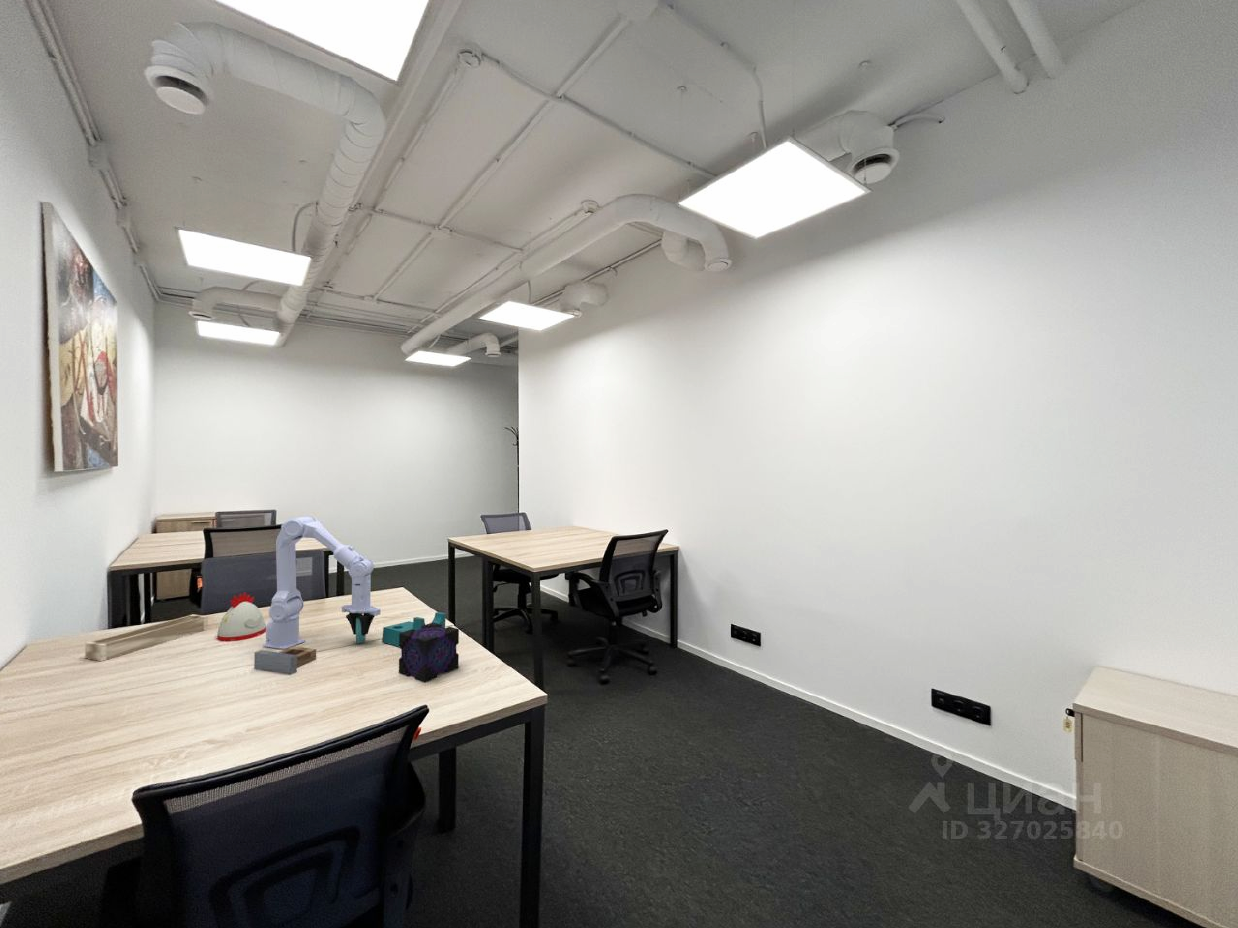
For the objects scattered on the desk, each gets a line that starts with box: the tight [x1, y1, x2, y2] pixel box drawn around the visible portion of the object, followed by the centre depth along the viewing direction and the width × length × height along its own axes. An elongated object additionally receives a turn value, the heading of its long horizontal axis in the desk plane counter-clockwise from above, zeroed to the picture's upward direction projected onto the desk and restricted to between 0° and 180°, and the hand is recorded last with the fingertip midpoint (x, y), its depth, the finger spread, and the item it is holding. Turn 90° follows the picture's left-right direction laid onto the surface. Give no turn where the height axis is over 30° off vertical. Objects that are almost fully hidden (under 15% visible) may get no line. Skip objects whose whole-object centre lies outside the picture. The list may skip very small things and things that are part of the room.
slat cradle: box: [84, 614, 209, 662], centre depth 166 cm, size 7×30×5 cm, turn 165°
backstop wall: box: [253, 649, 298, 675], centre depth 145 cm, size 14×2×5 cm, turn 75°
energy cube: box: [398, 621, 460, 684], centre depth 146 cm, size 12×12×12 cm
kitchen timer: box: [216, 592, 267, 643], centre depth 174 cm, size 14×14×15 cm
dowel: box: [355, 617, 366, 644], centre depth 167 cm, size 3×3×8 cm
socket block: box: [278, 645, 317, 668], centre depth 150 cm, size 9×9×3 cm
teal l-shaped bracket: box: [381, 611, 447, 647], centre depth 169 cm, size 18×11×10 cm, turn 63°
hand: (360, 634), depth 167 cm, fingers closed on dowel, 3 cm apart
